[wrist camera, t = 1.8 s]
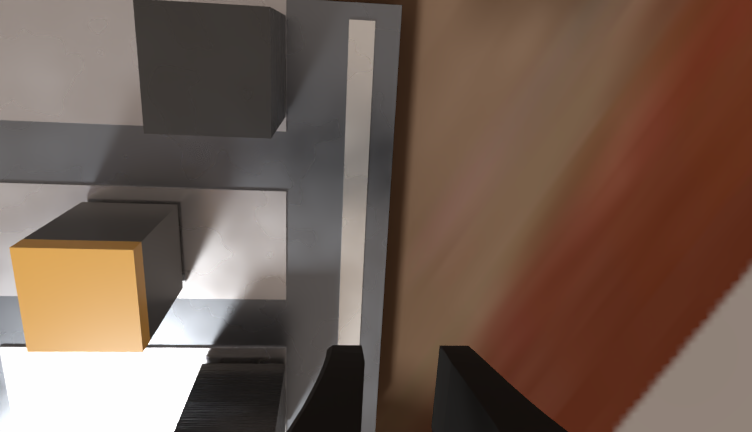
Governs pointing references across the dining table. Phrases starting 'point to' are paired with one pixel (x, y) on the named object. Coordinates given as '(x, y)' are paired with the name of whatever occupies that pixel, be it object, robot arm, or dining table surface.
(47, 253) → the block
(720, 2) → the dining table surface
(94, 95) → the panel
